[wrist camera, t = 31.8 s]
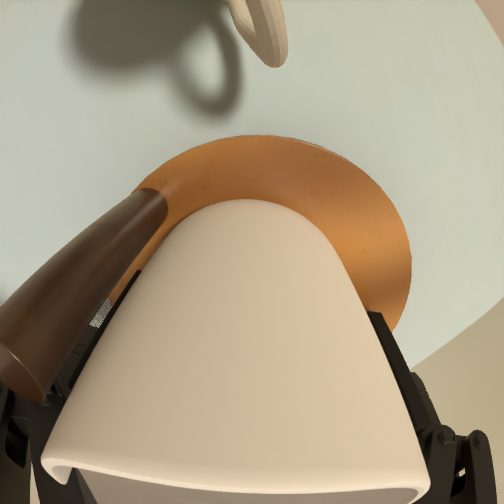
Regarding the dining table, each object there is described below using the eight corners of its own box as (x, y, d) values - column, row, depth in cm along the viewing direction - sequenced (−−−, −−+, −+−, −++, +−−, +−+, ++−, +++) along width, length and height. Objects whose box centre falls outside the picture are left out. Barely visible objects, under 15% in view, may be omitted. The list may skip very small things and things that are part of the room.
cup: (251, 150, 10) (204, 396, 1) (399, 326, 14) (469, 488, 5) (125, 277, 13) (19, 463, 4) (285, 395, 17) (292, 544, 8)
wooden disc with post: (68, 190, 12) (-86, 301, 3) (397, 111, 10) (607, 155, 1) (175, 398, 19) (150, 518, 10) (394, 364, 17) (439, 488, 8)
